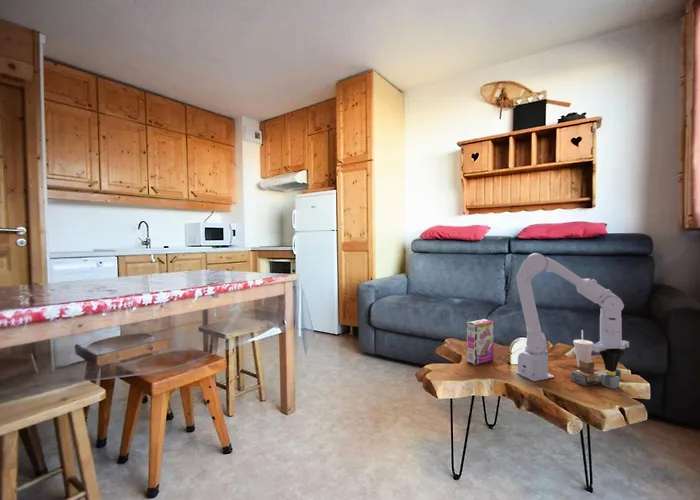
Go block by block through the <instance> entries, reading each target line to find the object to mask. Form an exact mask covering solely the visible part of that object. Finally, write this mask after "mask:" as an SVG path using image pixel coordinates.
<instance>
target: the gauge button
mask: <svg viewBox="0 0 700 500" xmlns="http://www.w3.org/2000/svg"><path fill="white" fill-rule="evenodd" d="M606 374H607V375H609V385H610V377H613V376H615V375H616V371H615V372H611V371H608V370H606Z"/></svg>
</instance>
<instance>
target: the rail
mask: <svg viewBox="0 0 700 500" xmlns="http://www.w3.org/2000/svg"><path fill="white" fill-rule="evenodd" d="M595 372H597V373H598V380H596V381H591V382H587V376H584V375H581V374H579V373H576V372H575V371H571V372H570V377H571V379H570V380H571V381H572V382H574V383H576V384H580V385H583V386H585V387H587V386H592V385H596V384H602V374H606V367H605V366H604V369H602V370H597V371H595ZM615 376H618V377H619V380H621V379H622V369H619V368H616V375H615ZM613 377H614V376H613ZM620 378H621V379H620Z"/></svg>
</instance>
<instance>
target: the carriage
mask: <svg viewBox="0 0 700 500" xmlns="http://www.w3.org/2000/svg"><path fill="white" fill-rule="evenodd" d="M574 372H576V373H579V374H581V375H584V376H587V382H591V381H596V380H598V373H597V372H596V371H595V361H592V360H591V359H590V360H587V359H584V360H579V367H578V369H577V370H575V371H574Z"/></svg>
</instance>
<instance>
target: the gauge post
mask: <svg viewBox="0 0 700 500" xmlns="http://www.w3.org/2000/svg"><path fill="white" fill-rule="evenodd" d="M601 385H602V386H604V387H607V388H610V389H612V390H614V389H620V379H619V377H618V376H614V377H610V385H609V375H607V374H602V383H601Z"/></svg>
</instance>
